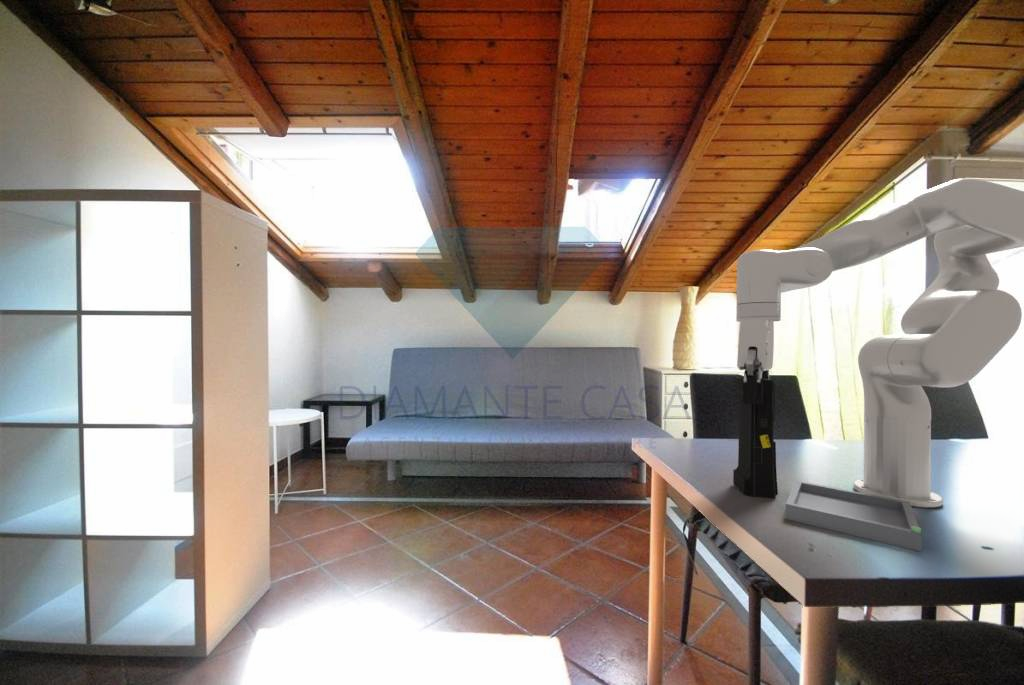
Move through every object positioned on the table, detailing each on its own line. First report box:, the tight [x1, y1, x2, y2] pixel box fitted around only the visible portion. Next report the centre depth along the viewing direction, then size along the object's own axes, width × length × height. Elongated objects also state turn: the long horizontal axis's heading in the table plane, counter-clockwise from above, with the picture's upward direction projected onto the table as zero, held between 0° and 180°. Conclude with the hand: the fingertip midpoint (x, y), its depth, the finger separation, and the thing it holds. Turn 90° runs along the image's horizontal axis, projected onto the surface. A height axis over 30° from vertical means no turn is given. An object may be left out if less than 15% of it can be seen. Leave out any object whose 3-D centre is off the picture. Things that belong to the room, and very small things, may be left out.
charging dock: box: [785, 480, 922, 552], centre depth 68 cm, size 16×16×3 cm
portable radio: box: [732, 365, 779, 499], centre depth 79 cm, size 8×6×25 cm
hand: (756, 401), depth 80 cm, fingers closed on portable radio, 8 cm apart
